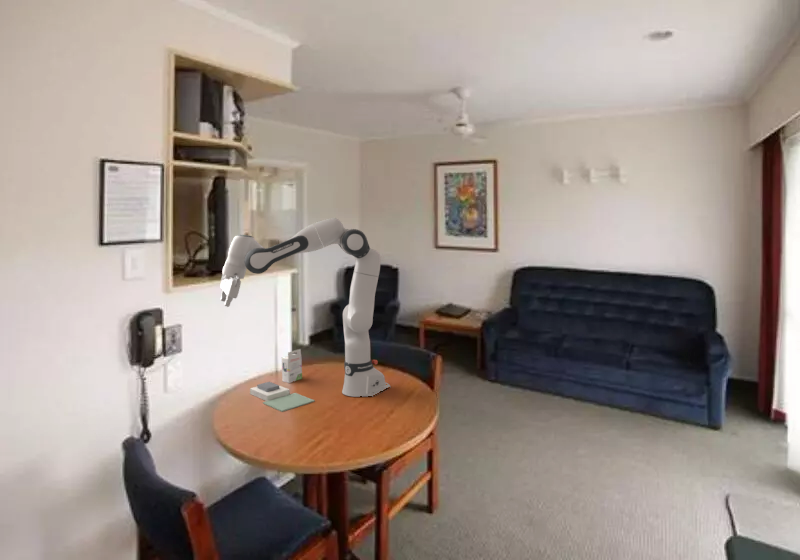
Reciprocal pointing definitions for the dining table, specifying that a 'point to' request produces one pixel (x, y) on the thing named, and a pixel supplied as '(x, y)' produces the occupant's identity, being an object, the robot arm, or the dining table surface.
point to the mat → (288, 402)
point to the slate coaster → (268, 386)
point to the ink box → (292, 367)
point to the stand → (269, 393)
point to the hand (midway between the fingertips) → (224, 303)
